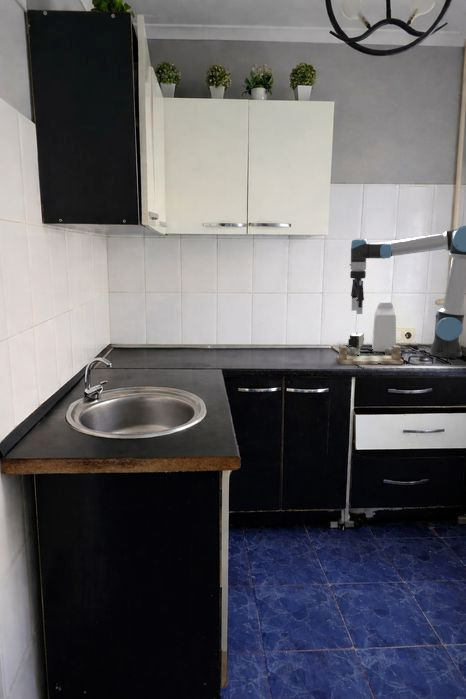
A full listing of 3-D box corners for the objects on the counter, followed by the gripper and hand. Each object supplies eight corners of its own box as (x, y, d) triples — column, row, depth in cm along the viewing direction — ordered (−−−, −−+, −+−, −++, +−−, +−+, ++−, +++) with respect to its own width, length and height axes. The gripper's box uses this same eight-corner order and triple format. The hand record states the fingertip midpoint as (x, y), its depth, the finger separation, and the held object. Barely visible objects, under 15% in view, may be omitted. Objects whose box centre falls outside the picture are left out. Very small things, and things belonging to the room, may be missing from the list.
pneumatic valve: (363, 353, 272) (364, 331, 269) (357, 357, 262) (357, 334, 260) (353, 352, 275) (354, 330, 272) (346, 356, 265) (347, 333, 262)
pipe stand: (396, 358, 259) (397, 343, 257) (403, 363, 247) (404, 348, 245) (336, 358, 260) (337, 344, 258) (340, 364, 248) (341, 349, 247)
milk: (372, 351, 277) (374, 303, 272) (371, 347, 288) (373, 300, 283) (396, 351, 274) (398, 303, 269) (394, 347, 285) (396, 301, 280)
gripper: (346, 269, 271) (345, 309, 276) (355, 271, 247) (354, 315, 251) (360, 269, 271) (359, 309, 275) (371, 271, 247) (369, 315, 251)
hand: (356, 312), depth 263 cm, fingers open, 13 cm apart
